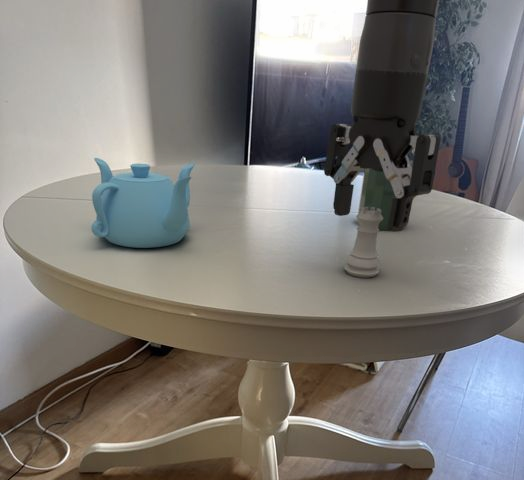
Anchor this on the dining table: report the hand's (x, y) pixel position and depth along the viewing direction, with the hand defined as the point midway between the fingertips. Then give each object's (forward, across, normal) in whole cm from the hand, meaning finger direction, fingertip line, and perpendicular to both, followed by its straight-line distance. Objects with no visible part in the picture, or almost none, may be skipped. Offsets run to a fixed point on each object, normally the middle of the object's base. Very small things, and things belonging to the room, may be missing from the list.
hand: (367, 222), depth 58 cm
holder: (+6, +16, -23) cm, 29 cm away
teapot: (+7, +27, +16) cm, 32 cm away
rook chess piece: (+7, 0, 0) cm, 7 cm away
